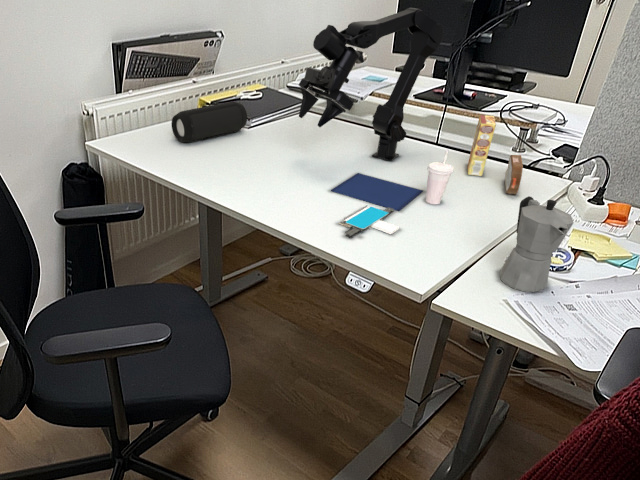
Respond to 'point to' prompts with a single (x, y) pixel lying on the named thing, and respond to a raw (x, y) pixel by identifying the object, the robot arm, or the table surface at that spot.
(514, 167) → the tin
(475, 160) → the candy box
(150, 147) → the table surface
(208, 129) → the portable speaker
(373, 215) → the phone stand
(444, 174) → the smoothie
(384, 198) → the cloth
